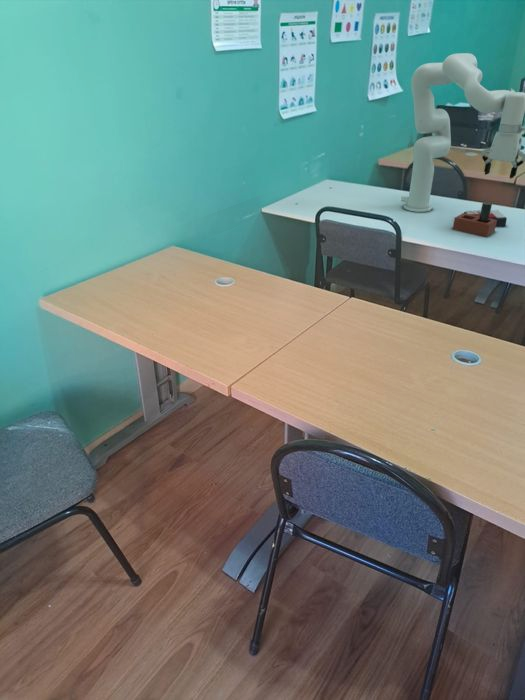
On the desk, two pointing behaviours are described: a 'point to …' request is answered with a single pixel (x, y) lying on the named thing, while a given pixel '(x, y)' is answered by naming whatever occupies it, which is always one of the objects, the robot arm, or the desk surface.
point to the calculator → (492, 216)
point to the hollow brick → (474, 225)
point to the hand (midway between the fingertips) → (499, 175)
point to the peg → (485, 212)
